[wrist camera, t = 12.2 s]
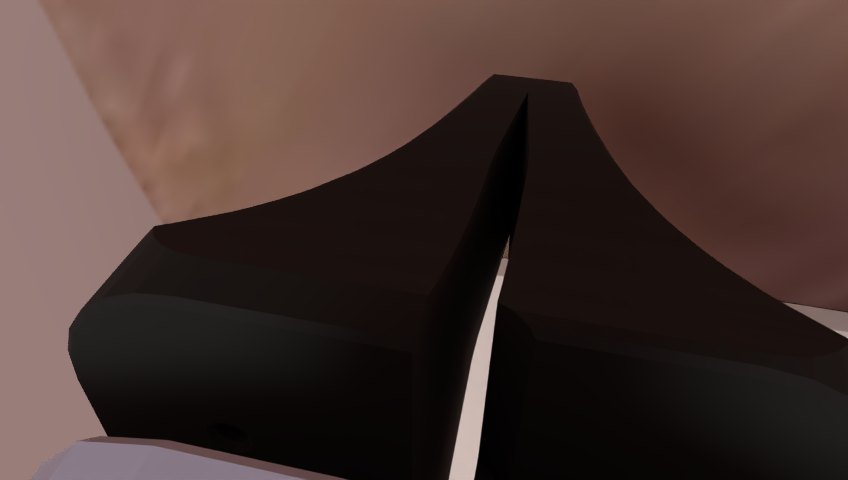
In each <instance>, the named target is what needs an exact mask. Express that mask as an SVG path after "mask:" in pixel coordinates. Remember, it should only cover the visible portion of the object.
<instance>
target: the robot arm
mask: <svg viewBox="0 0 848 480" xmlns="http://www.w3.org/2000/svg"><path fill="white" fill-rule="evenodd" d="M509 234H510V238H509ZM508 238H509V253H508V263H507V267H506V271H505V275H504V278H503V282H502V286H501V290H500V294H499V298H498V301H497V308H496V316H495V325H494V333H493V341H492V349H491V357H490V365H489V373H488V381H487V389H486V397H485V405H484V413H483V421H482V429H481V437H480V445H479V453H478V460H477V465H476V471H475V477H474V480H848V338H846V337H845V336H843V335H841V334H839V333H837V332H835V331H834V330H832V329H830V328H828V327H826V326H824V325H823V324H821V323H819V322H817V321H815V320H813V319H812V318H810V317H808V316H806V315H804V314H802V313H801V312H799V311H797V310H795V309H793V308H791V307H790V306H788V305H786V304H784V303H782V302H780V301H779V300H777V299H775V298H773V297H771V296H770V295H768V294H766V293H765V292H763V291H762V290H760V289H759V288H757V287H756V286H754V285H752V284H751V283H749V282H748V281H746V280H745V279H743V278H742V277H740V276H739V275H737V274H736V273H734V272H733V271H731V270H730V269H728V268H727V267H725V266H724V265H722V264H721V263H720V262H718V261H717V260H716V259H714V258H713V257H711V256H710V255H709V254H707V253H706V252H705V251H703V250H702V249H701V248H699V247H698V246H697V245H696V244H695V243H693V242H692V241H691V240H690V239H689V238H687V237H686V236H685V235H684V234H683V233H681V232H680V231H679V230H678V229H676V228H675V227H674V226H673V225H672V224H671V223H670V222H669V221H667V220H666V219H665V218H664V217H663V216H662V215H661V214H660V213H659V212H658V211H657V210H656V209H655V208H654V207H653V206H652V205H651V204H650V203H649V202H648V201H647V200H646V199H645V198H644V197H643V196H642V195H641V194H640V192H639V191H638V190H637V189H636V188H635V187H634V186H633V185H632V184H631V182H630V181H629V180H628V179H627V177H626V176H625V175H624V173H623V172H622V171H621V169H620V168H619V166H618V165H617V164H616V162H615V161H614V159H613V158H612V156H611V155H610V153H609V152H608V150H607V149H606V147H605V145H604V144H603V142H602V140H601V139H600V137H599V135H598V134H597V132H596V130H595V129H594V127H593V125H592V123H591V121H590V119H589V117H588V115H587V113H586V111H585V109H584V107H583V105H582V102H581V100H580V97H579V94H578V91H577V89H576V88H575V87H574V85H573V84H572V83H568V82H559V81H551V80H542V79H533V78H524V77H515V76H506V75H497V74H494V75H493V76H491V77H490V78H489V79H487V80H486V81H485V82H484V83H483V84H482V85H480V86H479V87H478V88H477V89H476V90H475V91H474V92H473V93H472V94H471V95H469V96H468V97H467V98H466V99H465V100H464V101H463V102H461V103H460V104H459V105H458V106H457V107H456V108H454V109H453V110H452V111H451V112H449V113H448V114H447V115H446V116H444V117H443V118H442V119H441V120H439V121H438V122H437V123H436V124H434V125H433V126H432V127H430V128H429V129H427V130H426V131H425V132H423V133H422V134H420V135H419V136H417V137H416V138H415V139H413V140H412V141H410V142H409V143H407V144H405V145H404V146H402V147H401V148H399V149H397V150H395V151H394V152H392V153H390V154H389V155H387V156H385V157H383V158H381V159H379V160H377V161H375V162H373V163H371V164H369V165H367V166H365V167H363V168H361V169H359V170H357V171H355V172H352V173H350V174H347V175H345V176H342V177H340V178H337V179H335V180H332V181H330V182H327V183H325V184H322V185H320V186H317V187H315V188H312V189H310V190H307V191H304V192H301V193H298V194H295V195H292V196H288V197H285V198H282V199H279V200H275V201H272V202H268V203H264V204H261V205H257V206H253V207H250V208H246V209H241V210H237V211H233V212H228V213H223V214H218V215H213V216H208V217H202V218H197V219H192V220H187V221H182V222H176V223H171V224H164V225H158V226H154V227H153V228H152V229H151V230H150V231H149V232H148V233H147V235H146V236H145V237H144V238H143V239H142V240H141V241H140V242H139V243H138V245H137V246H136V247H135V248H134V249H133V250H132V251H131V252H130V254H129V255H128V256H127V257H126V258H125V259H124V261H123V262H122V263H121V264H120V265H119V266H118V268H117V269H116V270H115V271H114V272H113V273H112V274H111V276H110V277H109V278H108V279H107V280H106V281H105V283H104V284H103V285H102V286H101V287H100V288H99V290H98V291H97V292H96V293H95V294H94V295H93V296H92V298H91V299H90V300H89V301H88V302H87V303H86V305H85V306H84V307H83V308H82V309H81V310H80V312H79V313H78V315H77V317H76V318H75V320H74V321H73V323H72V324H71V326H70V328H69V340H68V351H69V355H70V358H71V361H72V364H73V367H74V370H75V372H76V375H77V378H78V381H79V382H80V384H81V386H82V388H83V390H84V392H85V394H86V396H87V398H88V400H89V401H90V403H91V405H92V407H93V409H94V411H95V413H96V415H97V417H98V419H99V421H100V422H101V424H102V426H103V428H104V430H105V432H106V434H107V436H108V437H106V436H99V437H94V438H89V439H84V440H79V441H76V442H74V443H73V444H71V445H70V446H68V447H67V448H65V449H64V450H62V451H61V452H59V453H57V454H56V455H54V456H53V457H52V458H50V459H48V460H47V461H45V462H44V463H42V464H41V466H40V467H39V468H38V470H37V471H36V472H35V474H34V475H33V476H32V478H31V479H30V480H449V476H450V471H451V465H452V460H453V455H454V450H455V444H456V439H457V434H458V429H459V424H460V418H461V413H462V408H463V403H464V398H465V393H466V388H467V382H468V377H469V372H470V367H471V362H472V357H473V354H474V350H475V346H476V342H477V338H478V334H479V331H480V328H481V325H482V322H483V318H484V315H485V312H486V309H487V306H488V302H489V299H490V296H491V293H492V289H493V286H494V283H495V280H496V277H497V273H498V270H499V267H500V264H501V260H502V257H503V254H504V251H505V247H506V244H507V241H508Z"/></svg>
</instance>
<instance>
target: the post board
mask: <svg viewBox="0 0 848 480" xmlns="http://www.w3.org/2000/svg"><path fill="white" fill-rule="evenodd" d="M507 263H508V259H505V258H502V260H501V264H500V267H499V270H498V273H497V277H496V280H495V283H494V286H493V289H492V293H491V296H490V299H489V302H488V306H487V309H486V312H485V315H484V318H483V322H482V325H481V328H480V331H479V334H478V338H477V342H476V346H475V350H474V354H473V357H472V362H471V367H470V372H469V377H468V382H467V388H466V393H465V398H464V403H463V408H462V413H461V418H460V424H459V429H458V434H457V439H456V444H455V450H454V455H453V460H452V465H451V471H450V476H449V480H474V477H475V471H476V465H477V460H478V453H479V445H480V437H481V429H482V421H483V413H484V405H485V397H486V389H487V381H488V373H489V365H490V357H491V349H492V341H493V333H494V325H495V316H496V308H497V301H498V298H499V294H500V290H501V286H502V282H503V278H504V275H505V271H506V267H507ZM782 303H784V302H782ZM784 304H786V305H788V306H790V307H791V308H793V309H795V310H797V311H799V312H801V313H802V314H804V315H806V316H808V317H810V318H812V319H813V320H815V321H817V322H819V323H821V324H823V325H824V326H826V327H828V328H830V329H832V330H834V331H835V332H837V333H839V334H841V335H843V336H845V337H846V338H848V312H841V311H835V310H829V309H822V308H816V307H810V306H803V305H797V304H791V303H784Z"/></svg>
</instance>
